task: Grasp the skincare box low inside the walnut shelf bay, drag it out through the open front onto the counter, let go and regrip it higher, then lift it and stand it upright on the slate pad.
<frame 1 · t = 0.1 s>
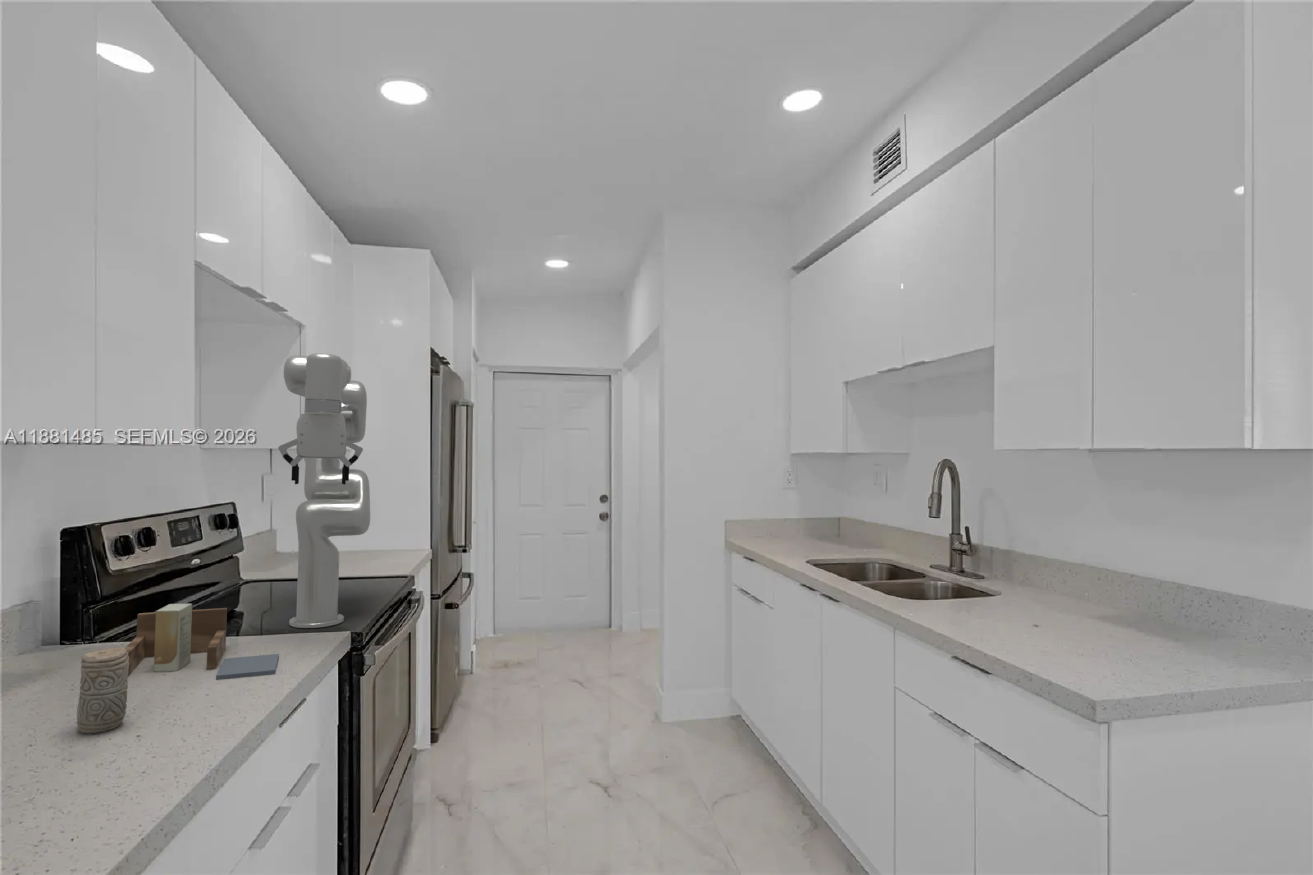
hand: (320, 484, 159), 37 cm above the worktop, tool pointing down, fingers open, 9 cm apart
slate pad: (248, 668, 143), on the worktop
shelf bay: (172, 667, 142), on the worktop
skincare box: (172, 668, 142), on the worktop
carving: (101, 728, 111), on the worktop
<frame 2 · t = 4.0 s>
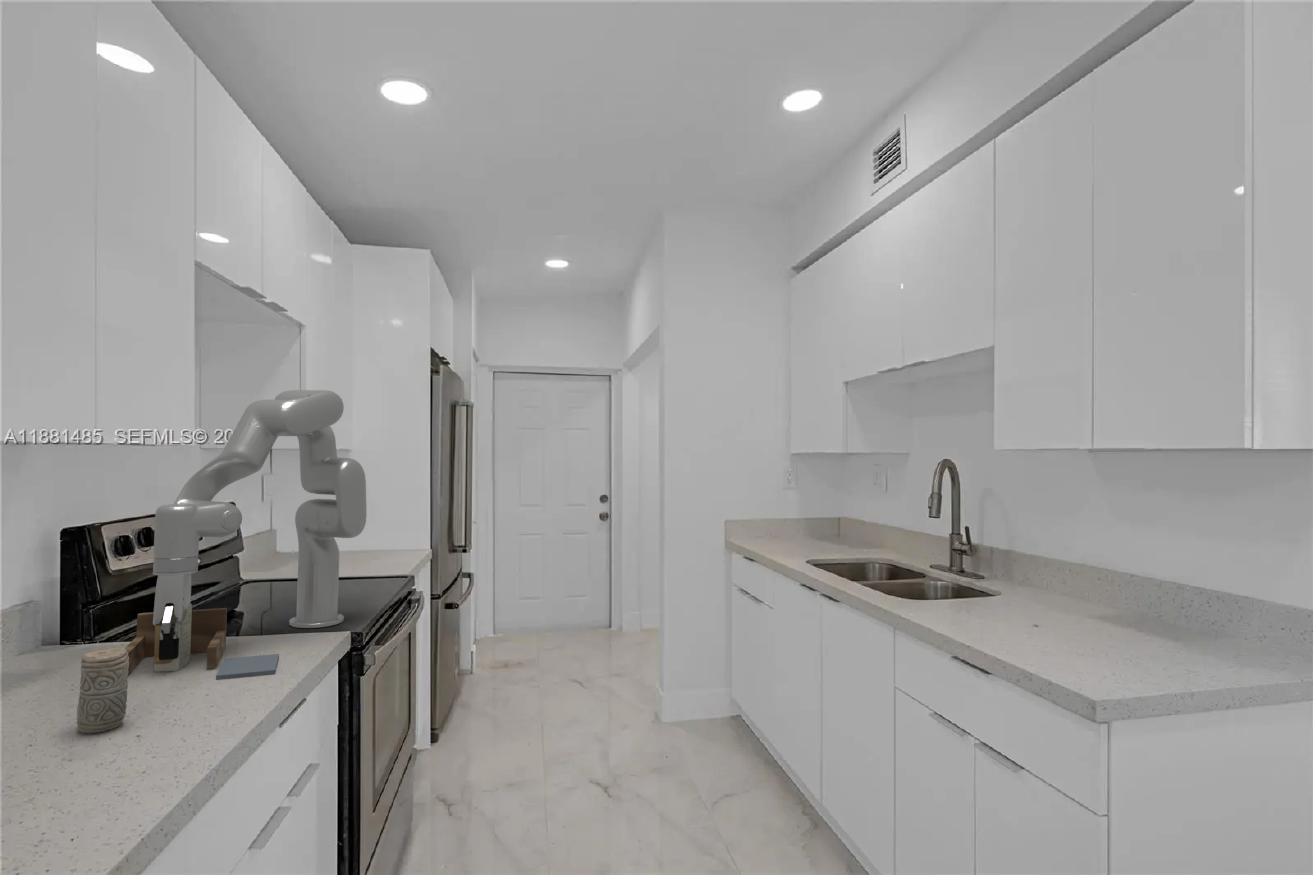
hand: (172, 653, 142), 3 cm above the worktop, tool pointing down, fingers closed on skincare box, 6 cm apart
skincare box: (172, 668, 142), on the worktop, touching gripper
everything else where it was.
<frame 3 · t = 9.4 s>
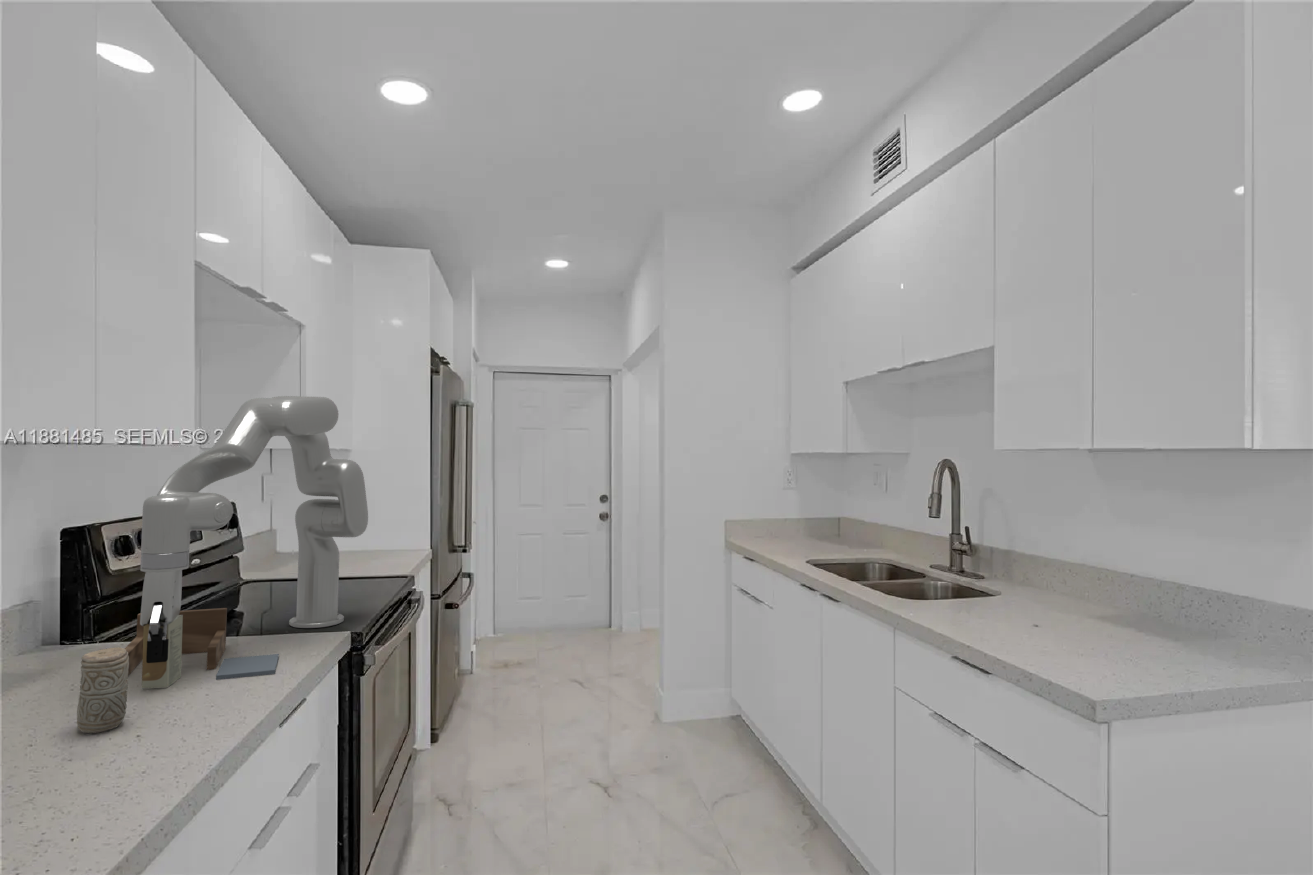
hand: (161, 655, 132), 5 cm above the worktop, tool pointing down, fingers closed on skincare box, 6 cm apart
skincare box: (161, 684, 132), on the worktop, touching gripper
everything else where it was.
when the fingers open (7 cm above the worktop, at t = 15.6 s): skincare box stays where it is, resting on slate pad.
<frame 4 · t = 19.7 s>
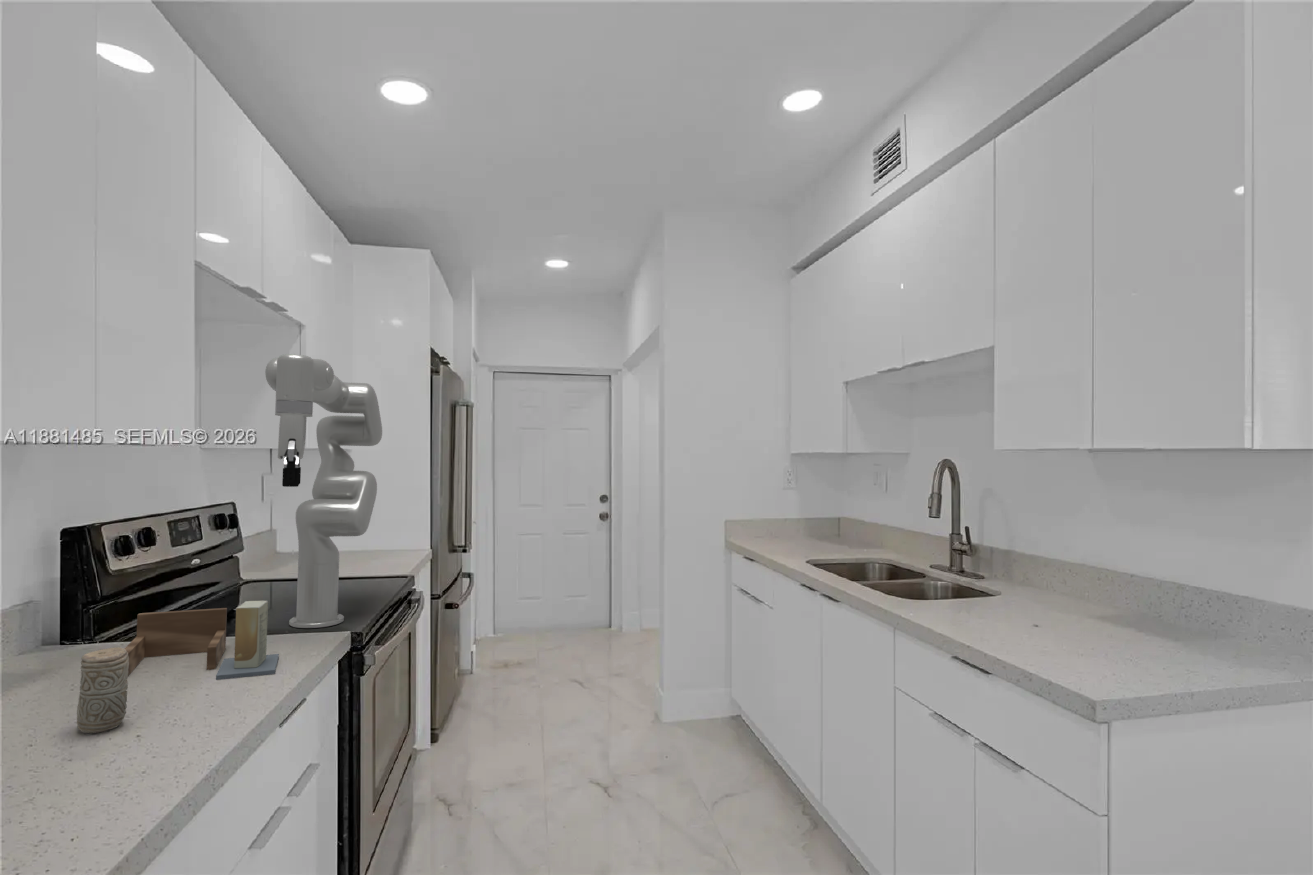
hand: (291, 485, 159), 36 cm above the worktop, tool pointing down, fingers open, 9 cm apart
skincare box: (250, 665, 143), point 1 cm above the worktop, touching slate pad
everything else where it was.
at the end: skincare box inside the target area on the slate pad (0.2 cm from its centre), point 0.6 cm above the slate pad's base; skincare box tilted 0°; the gripper is holding nothing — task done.
